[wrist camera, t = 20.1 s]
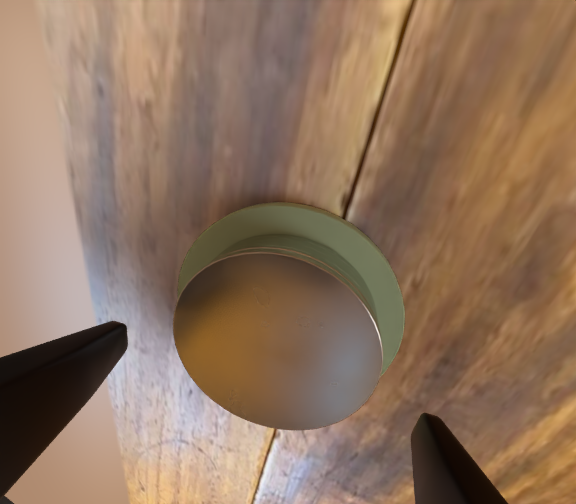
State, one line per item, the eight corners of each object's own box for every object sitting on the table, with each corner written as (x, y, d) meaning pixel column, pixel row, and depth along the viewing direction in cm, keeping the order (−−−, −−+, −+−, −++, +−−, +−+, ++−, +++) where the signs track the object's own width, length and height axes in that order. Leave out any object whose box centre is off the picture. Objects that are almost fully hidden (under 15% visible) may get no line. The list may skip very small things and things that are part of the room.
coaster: (181, 362, 14) (174, 371, 13) (188, 178, 10) (179, 179, 10) (363, 418, 13) (364, 430, 12) (440, 234, 9) (446, 240, 9)
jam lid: (407, 260, 9) (421, 288, 7) (350, 409, 12) (351, 455, 10) (204, 213, 10) (174, 227, 8) (195, 362, 13) (170, 396, 11)
